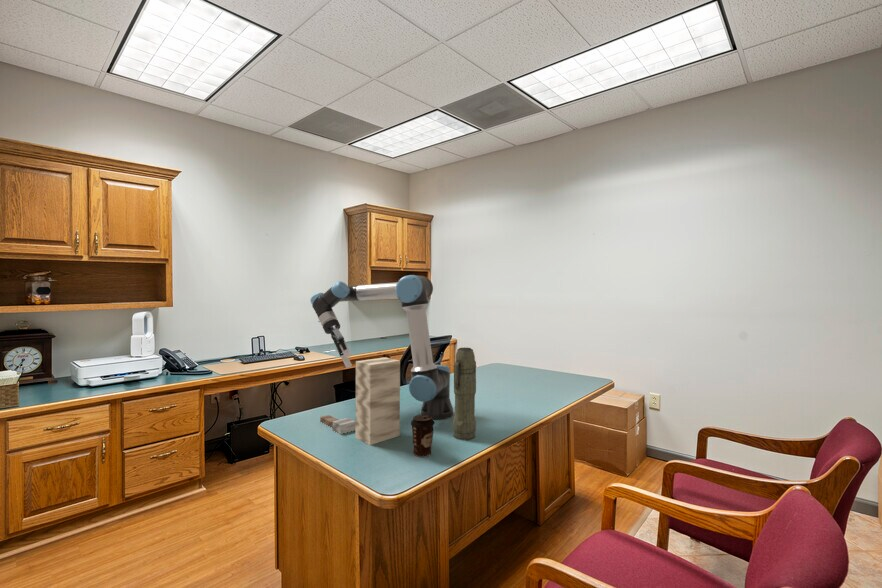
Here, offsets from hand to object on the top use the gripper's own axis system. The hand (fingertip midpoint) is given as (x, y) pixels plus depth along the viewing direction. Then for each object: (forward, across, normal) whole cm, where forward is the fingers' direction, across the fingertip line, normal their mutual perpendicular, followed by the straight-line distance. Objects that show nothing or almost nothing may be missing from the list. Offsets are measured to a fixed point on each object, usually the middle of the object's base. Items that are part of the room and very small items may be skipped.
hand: (348, 361), depth 184 cm
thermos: (+53, +14, +26) cm, 61 cm away
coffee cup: (+52, +26, +6) cm, 58 cm away
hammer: (+23, -3, -16) cm, 28 cm away
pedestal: (+36, +10, -4) cm, 38 cm away
